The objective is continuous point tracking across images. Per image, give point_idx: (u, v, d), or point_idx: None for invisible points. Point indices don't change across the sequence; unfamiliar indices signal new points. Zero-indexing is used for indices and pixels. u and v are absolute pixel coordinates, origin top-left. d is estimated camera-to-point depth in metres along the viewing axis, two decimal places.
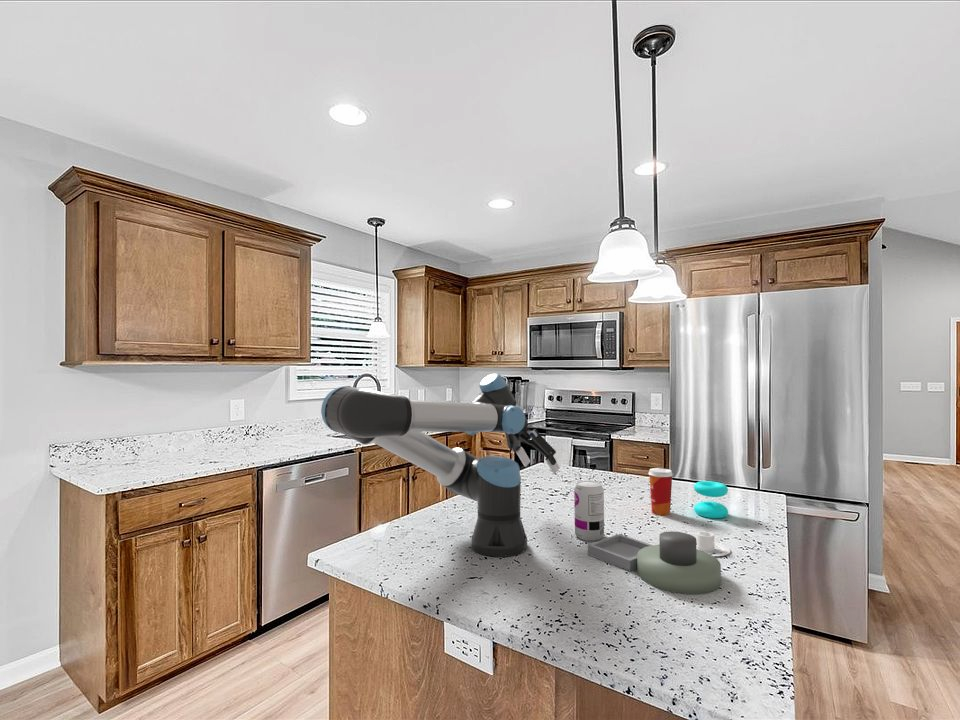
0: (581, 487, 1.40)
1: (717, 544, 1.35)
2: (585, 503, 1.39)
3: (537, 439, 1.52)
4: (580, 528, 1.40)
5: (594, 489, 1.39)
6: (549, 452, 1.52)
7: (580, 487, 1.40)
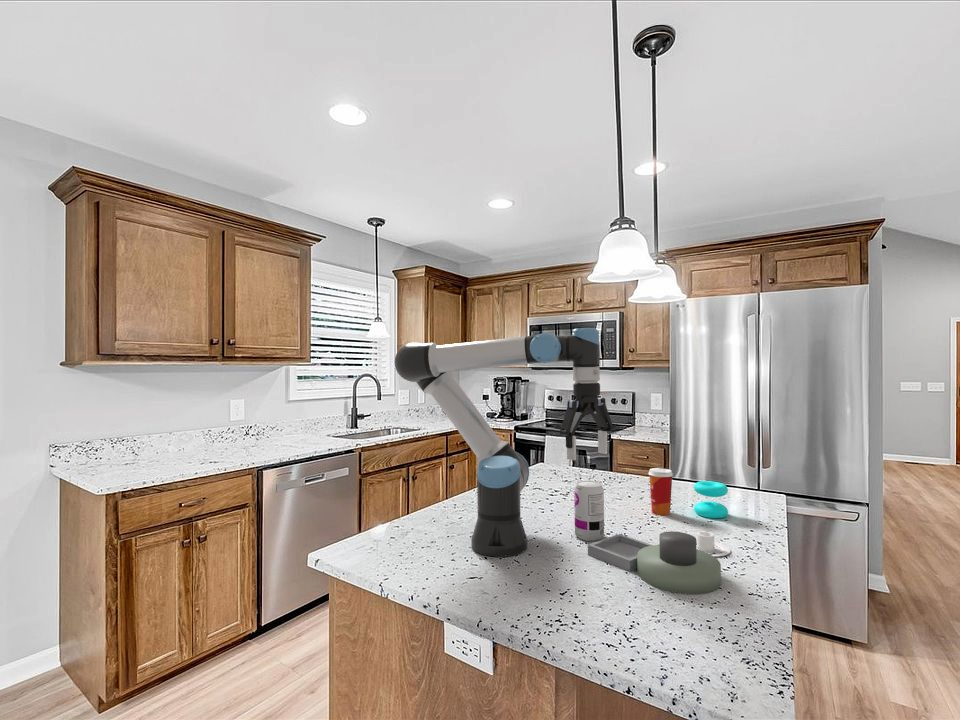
0: (581, 487, 1.40)
1: (717, 544, 1.35)
2: (585, 503, 1.39)
3: (568, 409, 1.39)
4: (580, 528, 1.40)
5: (594, 489, 1.39)
6: (562, 427, 1.37)
7: (580, 487, 1.40)
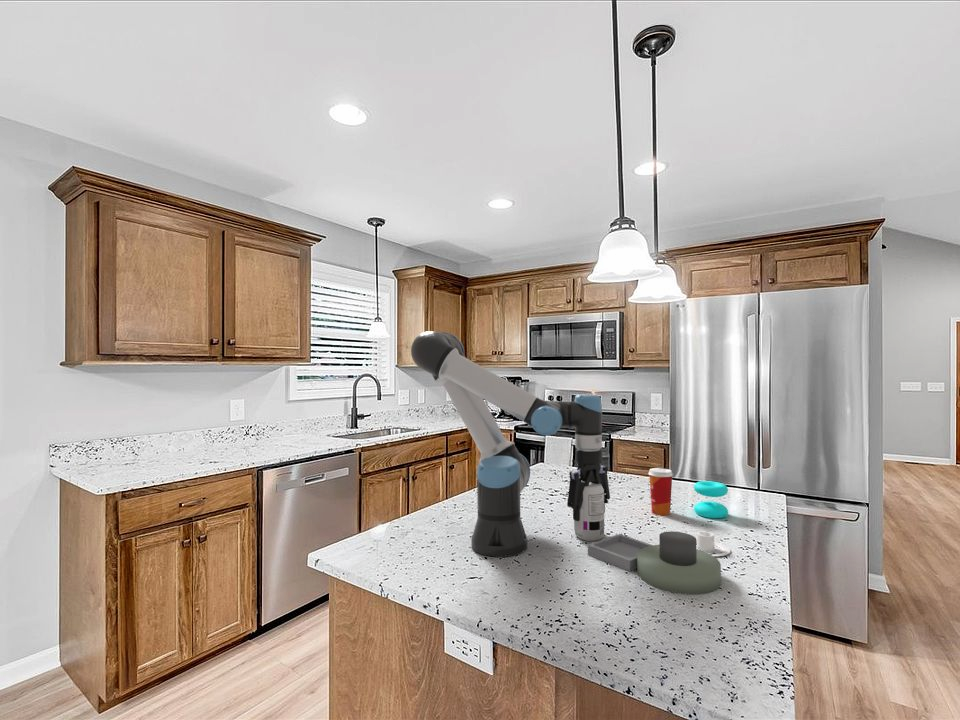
0: None
1: (717, 544, 1.35)
2: (585, 503, 1.39)
3: (571, 481, 1.39)
4: None
5: (594, 489, 1.39)
6: (568, 501, 1.38)
7: None
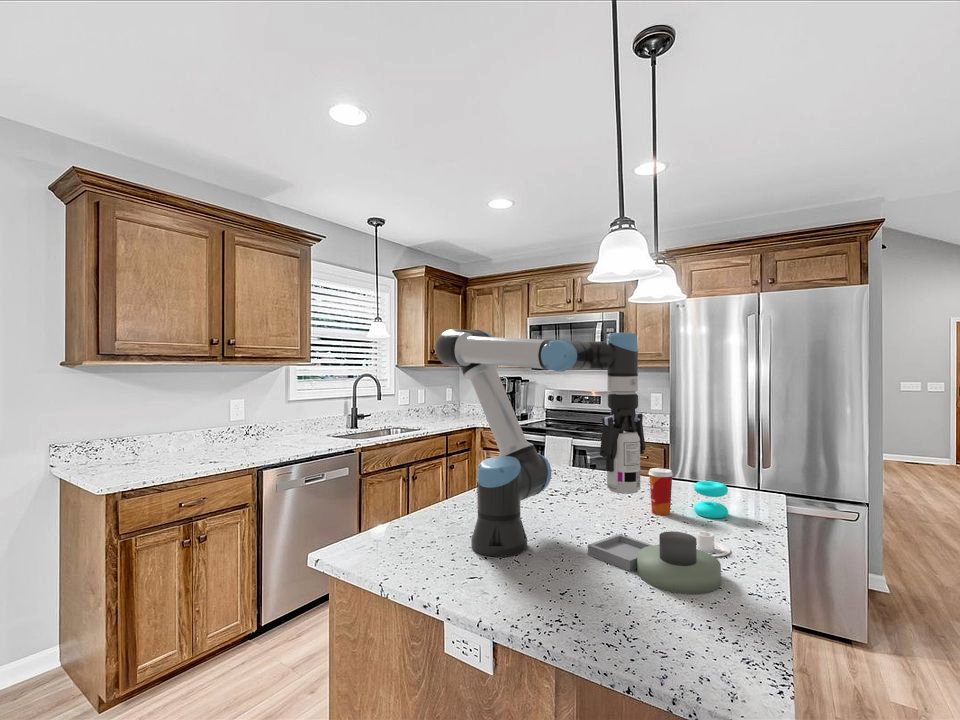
0: None
1: (717, 544, 1.35)
2: (619, 452, 1.24)
3: (604, 428, 1.24)
4: None
5: (630, 436, 1.24)
6: (601, 449, 1.24)
7: None
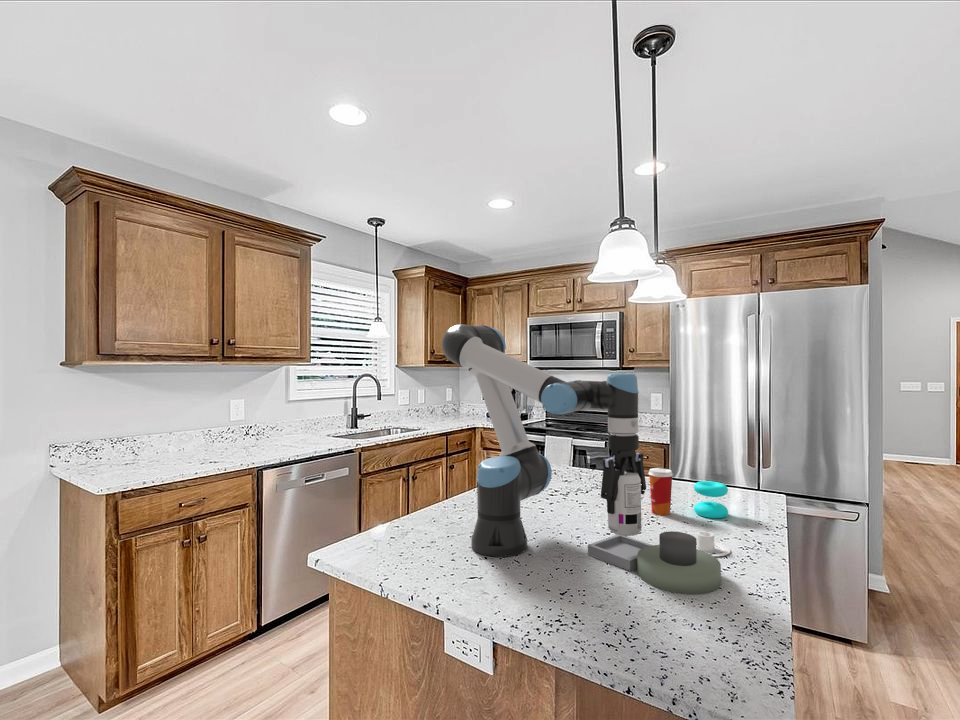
0: None
1: (717, 544, 1.35)
2: (620, 494, 1.24)
3: (605, 470, 1.24)
4: None
5: (631, 478, 1.24)
6: (602, 491, 1.24)
7: None
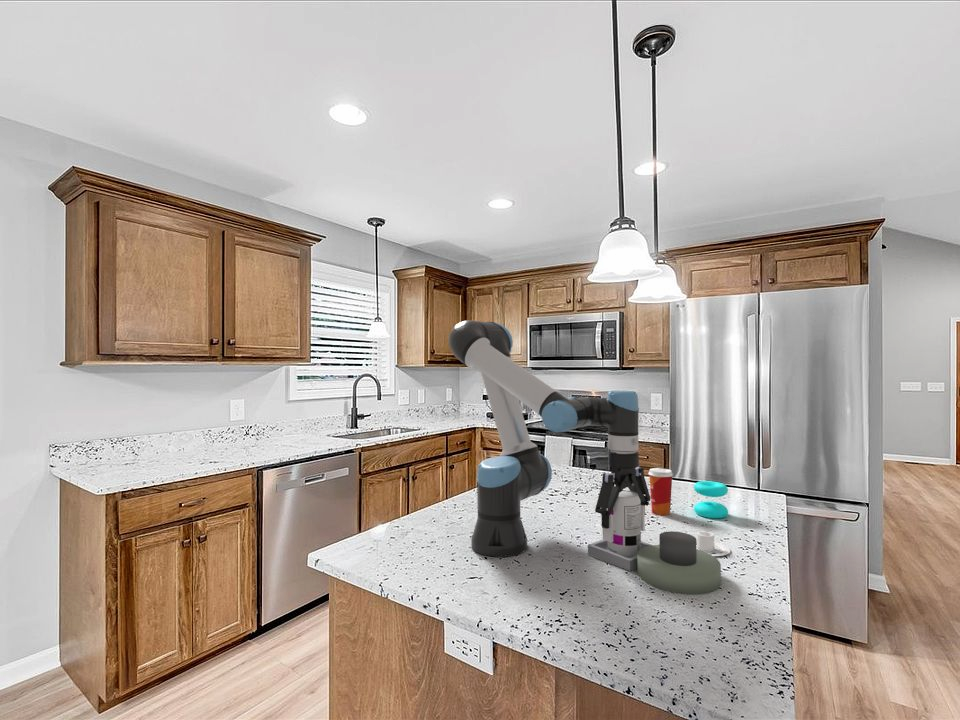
0: None
1: (717, 544, 1.35)
2: (620, 516, 1.24)
3: (603, 484, 1.24)
4: (614, 543, 1.25)
5: (631, 500, 1.24)
6: (597, 505, 1.23)
7: None
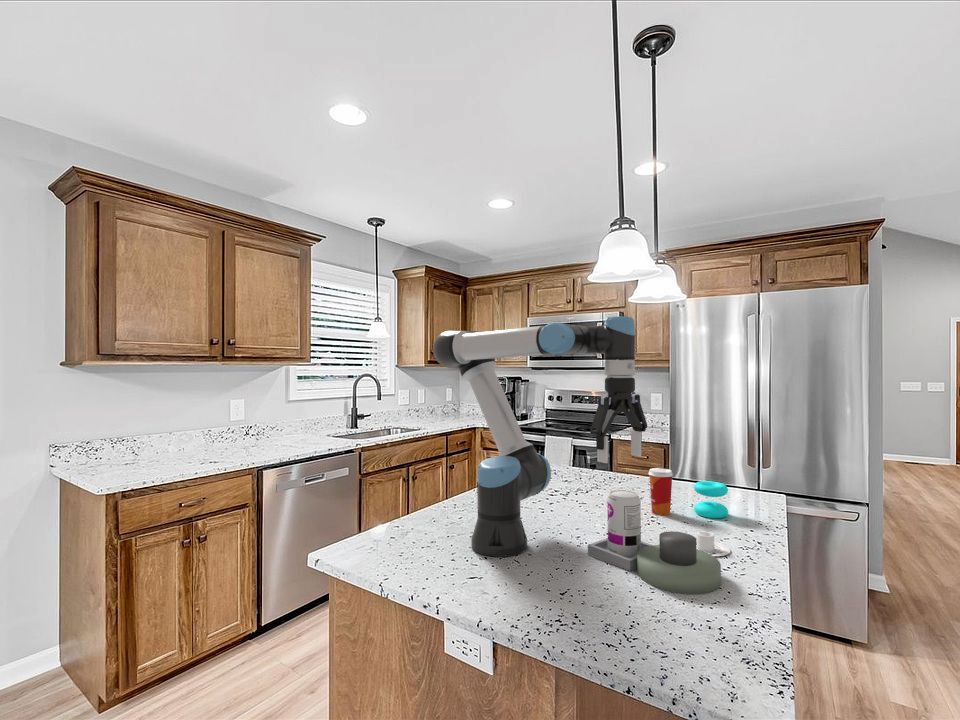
0: (616, 497, 1.26)
1: (717, 544, 1.35)
2: (620, 516, 1.24)
3: (599, 407, 1.25)
4: (614, 543, 1.25)
5: (631, 500, 1.24)
6: (592, 426, 1.24)
7: (614, 497, 1.26)
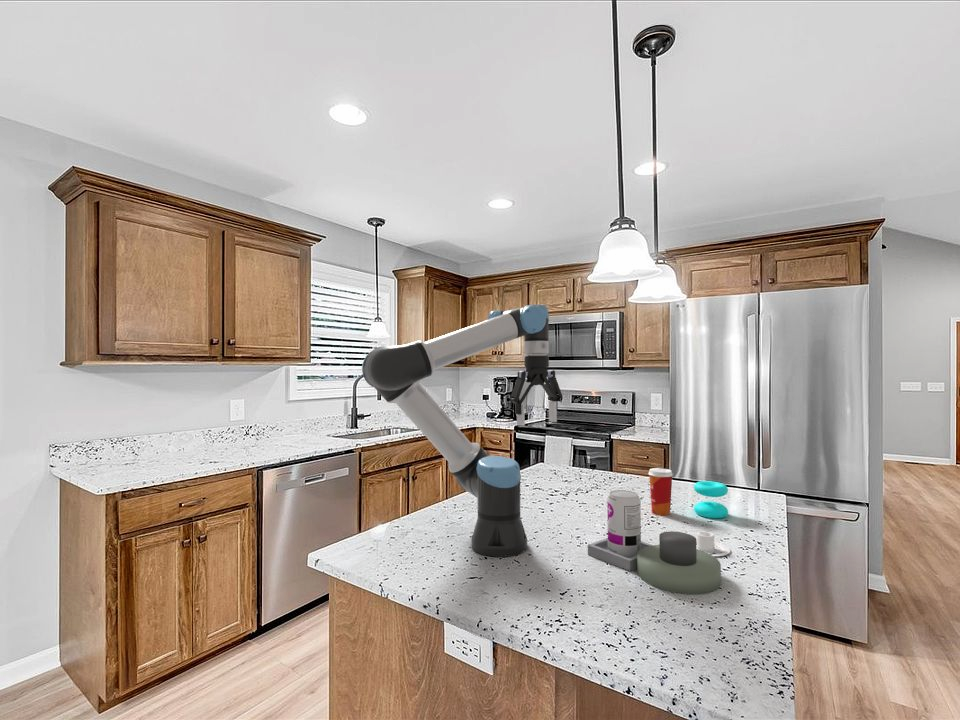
0: (616, 497, 1.26)
1: (717, 544, 1.35)
2: (620, 516, 1.24)
3: (518, 379, 1.51)
4: (614, 543, 1.25)
5: (631, 500, 1.24)
6: (511, 395, 1.50)
7: (614, 497, 1.26)
